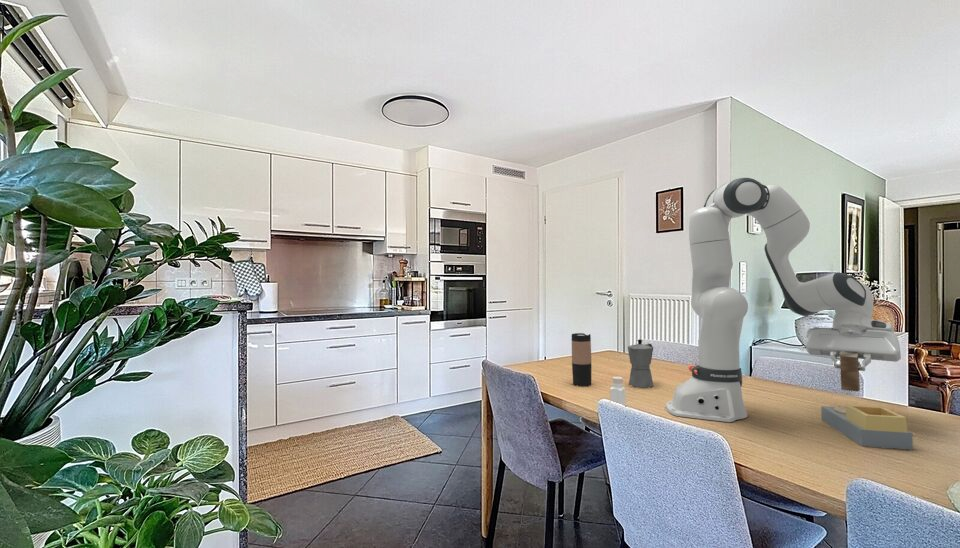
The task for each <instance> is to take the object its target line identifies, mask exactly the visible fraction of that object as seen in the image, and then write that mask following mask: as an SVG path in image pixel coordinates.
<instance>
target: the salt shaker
mask: <svg viewBox="0 0 960 548" xmlns="http://www.w3.org/2000/svg"><path fill="white" fill-rule="evenodd" d="M623 381H624V378H623V377H622V376H613V377H612V386H611V387H610V389H609V390H610V391H609V393H610V402H611V401H613V402H616V403H619V404H622V405H625V407H626V404H627V403H626V402H627V401H626V396H627V395H626V387H625V386H623V384H624V382H623Z"/></svg>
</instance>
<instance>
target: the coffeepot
mask: <svg viewBox="0 0 960 548" xmlns="http://www.w3.org/2000/svg"><path fill="white" fill-rule="evenodd" d="M642 343H643V340H642V339H641V338H640V339H637V344H631V345H628V346H627V350H628V357H629V362H630V364H631V369H630V375H629V381H628V385H629V386H630V385H632V386H634V387H633V388H637V387H642V388H641V389H649V388H648V387H651V388H653V387H654V382H653V381H654V380H653V375H652V370H651V368H650V366H651V363H652V358H653V352H654V347H653V345H652V344H651V343H646V344H645V343H644V344H642ZM632 386H631V387H632ZM652 386H653V387H652Z"/></svg>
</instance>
